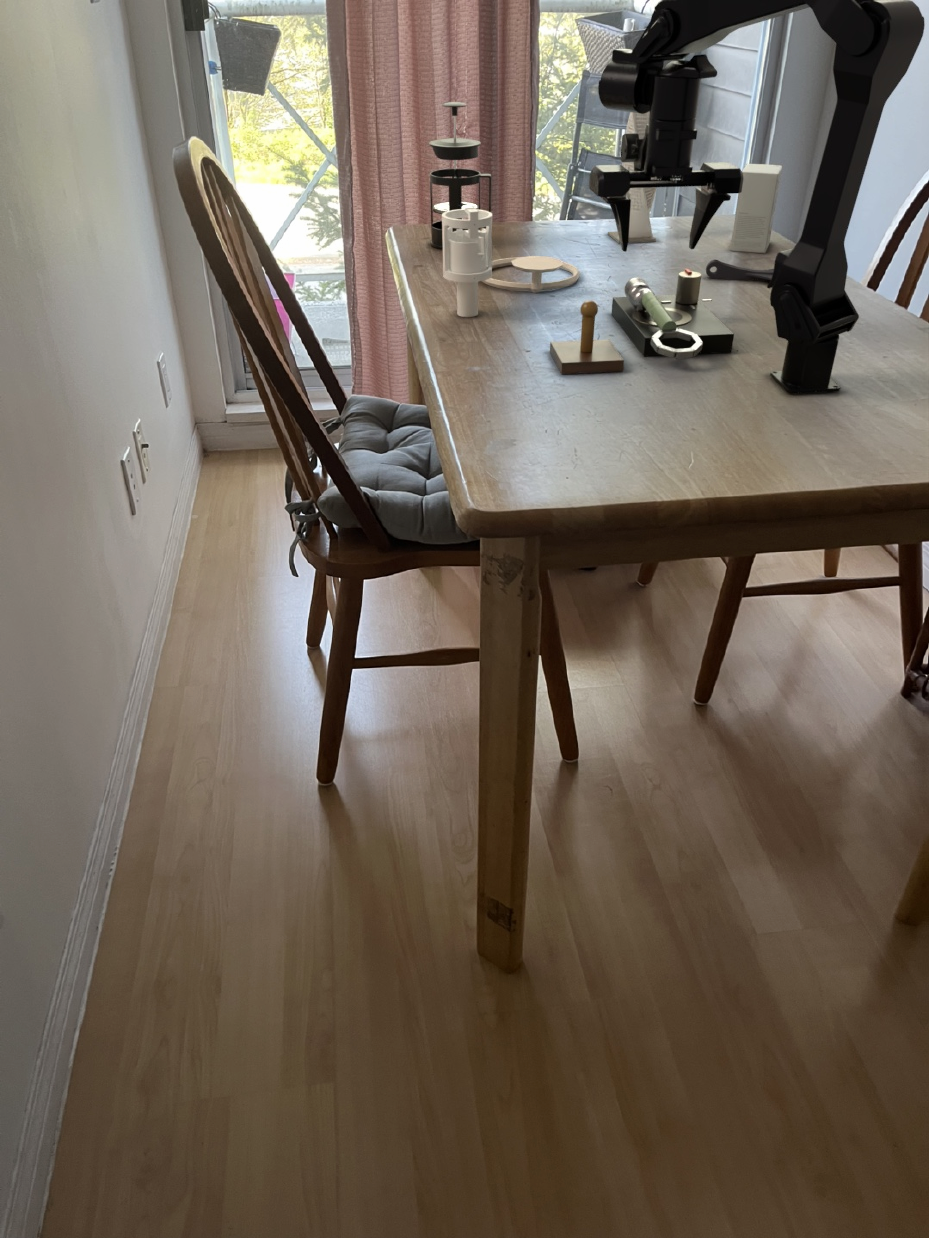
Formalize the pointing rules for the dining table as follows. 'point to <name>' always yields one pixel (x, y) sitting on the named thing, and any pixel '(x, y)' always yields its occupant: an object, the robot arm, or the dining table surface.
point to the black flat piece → (737, 272)
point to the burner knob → (688, 287)
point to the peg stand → (586, 349)
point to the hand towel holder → (534, 273)
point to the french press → (454, 176)
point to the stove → (701, 324)
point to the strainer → (467, 254)
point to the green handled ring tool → (660, 321)
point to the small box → (756, 208)
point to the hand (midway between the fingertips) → (657, 249)
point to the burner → (676, 314)
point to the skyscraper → (638, 191)
